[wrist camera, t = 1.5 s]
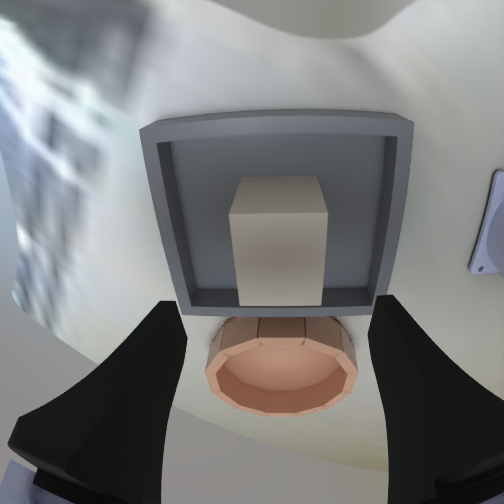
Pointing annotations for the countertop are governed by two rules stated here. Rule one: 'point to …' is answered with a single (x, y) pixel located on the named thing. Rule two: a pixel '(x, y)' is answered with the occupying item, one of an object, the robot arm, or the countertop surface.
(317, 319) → the bowl
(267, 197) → the stone block
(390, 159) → the parts tray
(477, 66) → the countertop surface
